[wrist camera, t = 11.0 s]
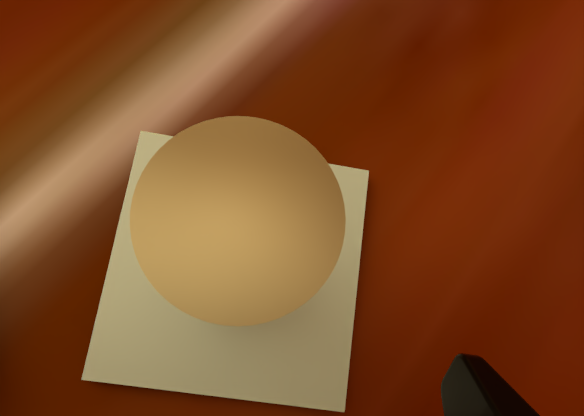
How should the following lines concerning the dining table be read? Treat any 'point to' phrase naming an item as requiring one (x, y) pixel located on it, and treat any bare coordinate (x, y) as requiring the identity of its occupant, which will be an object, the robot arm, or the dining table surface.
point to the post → (237, 221)
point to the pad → (228, 339)
